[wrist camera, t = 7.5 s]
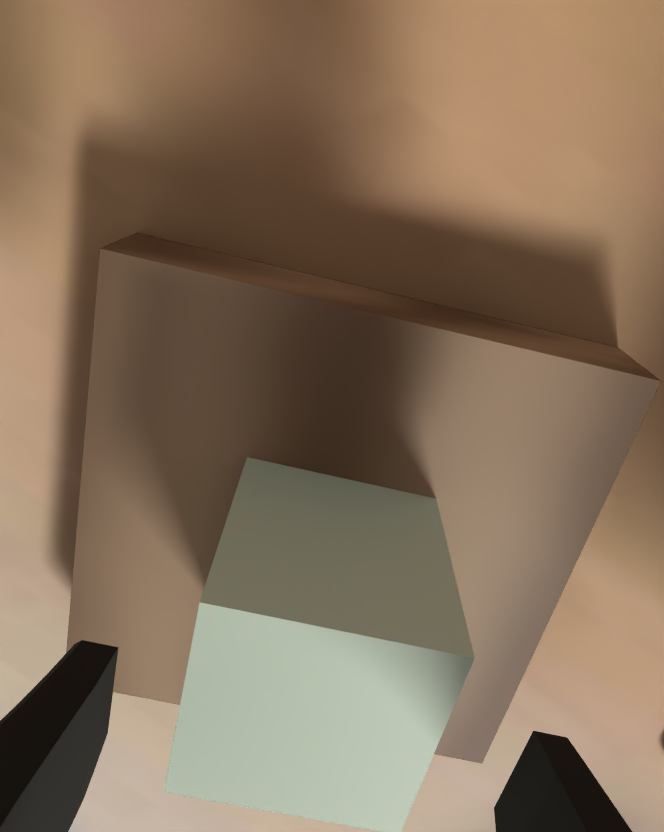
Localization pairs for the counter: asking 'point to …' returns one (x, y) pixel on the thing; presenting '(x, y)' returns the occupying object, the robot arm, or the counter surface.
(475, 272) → the counter surface
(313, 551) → the sage block
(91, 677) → the robot arm
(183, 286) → the walnut slab
